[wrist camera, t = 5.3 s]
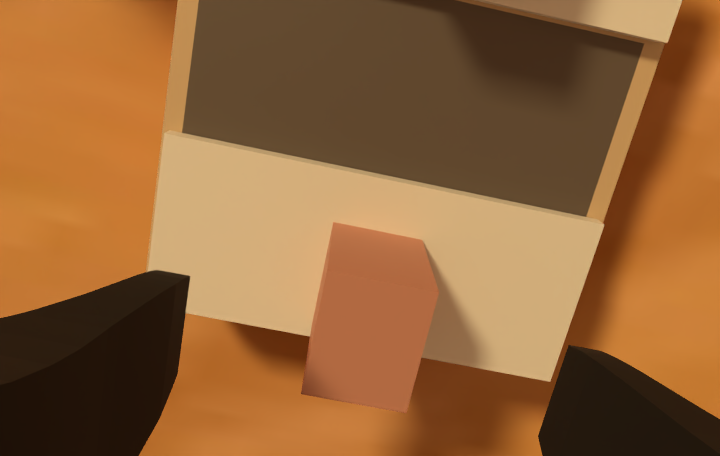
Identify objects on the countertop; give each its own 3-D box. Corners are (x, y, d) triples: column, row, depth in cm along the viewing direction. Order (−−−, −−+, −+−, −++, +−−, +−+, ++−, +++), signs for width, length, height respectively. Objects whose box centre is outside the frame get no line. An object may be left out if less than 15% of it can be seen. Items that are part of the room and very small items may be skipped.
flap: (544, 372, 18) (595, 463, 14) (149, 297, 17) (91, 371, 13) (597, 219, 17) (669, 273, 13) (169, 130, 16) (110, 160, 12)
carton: (516, 316, 22) (550, 376, 18) (181, 251, 21) (142, 298, 17) (607, 28, 19) (670, 27, 15) (223, -60, 18) (187, -85, 14)
